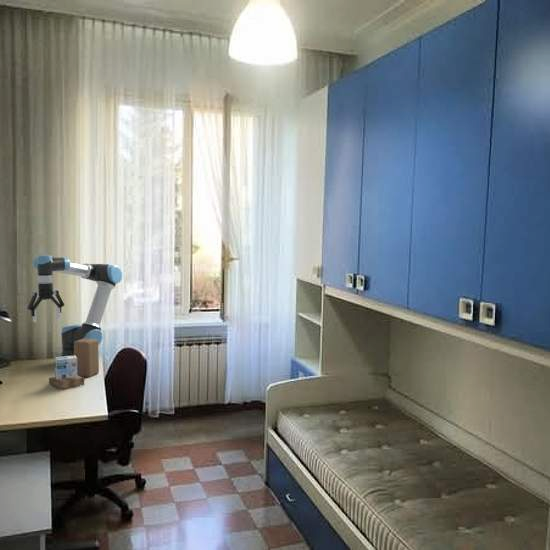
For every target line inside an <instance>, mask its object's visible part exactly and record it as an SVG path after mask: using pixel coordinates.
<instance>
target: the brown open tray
mask: <svg viewBox="0 0 550 550" xmlns="http://www.w3.org/2000/svg"><path fill="white" fill-rule="evenodd" d="M48 382H49V383H48V386H50V385H51V386H50V387H52V386H53V388H55V389H57V390H60V391H63V390H68V389H71V388H72V389H73V388H77V387H81V386H80V385H82V386H85V377H82V376H78V375H77V378H68V379H59V380H57V379H56V376H51V377H49V378H48ZM76 386H77V387H76Z"/></svg>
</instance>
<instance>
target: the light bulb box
mask: <svg viewBox="0 0 550 550" xmlns="http://www.w3.org/2000/svg"><path fill="white" fill-rule="evenodd" d="M54 359H55V360H54V361H55V362H54V364H55V370H54V371H55V377H56V379H57V380H59V379H68V378H77V357H76V356H75V355H74V356H64V357H60V356H57V357H54Z"/></svg>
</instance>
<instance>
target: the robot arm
mask: <svg viewBox="0 0 550 550" xmlns="http://www.w3.org/2000/svg"><path fill="white" fill-rule="evenodd" d="M32 264H33V268H35V269H36V270H37V282H38V283H37V286H38V287H37V288H38V292H35V291H33V292H32V297H31V299H30V300H29V304H28V305H27V310H30V313H31V315H30V316H31V317H32V321H33V323H37V322H38V321H37V319H38V317H37V310H36V309H37V308H38V306H39V304H40V303H41V302H42V301H44V300H45V301H46V300H51V302H53V303H54V304H55V306H56V310H55V312H56V319H57V320H60V319H61V313H62V308H63V307H65V303H64V302H63V301H64V300H63V299H62V297H61V295H60V293H59V290H56V289H55V290H54V285H53V281H54V280H53V278H54V277H53V273H58V274H59V273H60V274H67V275H72V276H78V277H80V278H81V279H84V280H88V281H92V282H96V284H97V287H96V290H95V293H94V296H93V299H92V302H91V305H90V307H89V308H90V309H89V311H88V314H87V317H86V319H85V321H84V322H83V323H82V324H78V323H77V324H71V325H65V326H62V327H61V354H60V356H59V357H64V356H74V342H75V341H78V340H81V339H84V338H85V339H97V340H98V346H100V344H101V343H102V340H103V337H104V336H103V333H102V331H101V330H102V327H101V322H102V319H103V316H104V313H105V310H106V307H107V304H108V302H109V299H110V298H109V297H110V294H111V292H112V290H113V289H115V287H116V284H119V283H120V282H122V279H123V271H122V269H121V268H120V267H119V266H118V265H117V264H112V263H111V264H110V263H109V264H108V263H107V264H105V263H76V262H72V261H70V259H69V258H68V257H67V256H66V257H63V256H62V257H53V255H51V254H39V255H38V256H37V257H36V258H34V260H33V263H32ZM53 295H54V296H55V297H56V298H55V297H54V296H53ZM37 297H38V298H37Z"/></svg>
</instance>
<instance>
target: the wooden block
mask: <svg viewBox="0 0 550 550" xmlns="http://www.w3.org/2000/svg"><path fill="white" fill-rule="evenodd" d="M74 355H75V356H76V357H77V375H78V376H81V377H82V376H83V377H84V378H90V377H93V376H95V375H97V374H99V371H100V366H99V365H100V359H99V345H98V340H97V339H85V338H84V339H81V340H78V341H75V342H74Z"/></svg>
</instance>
